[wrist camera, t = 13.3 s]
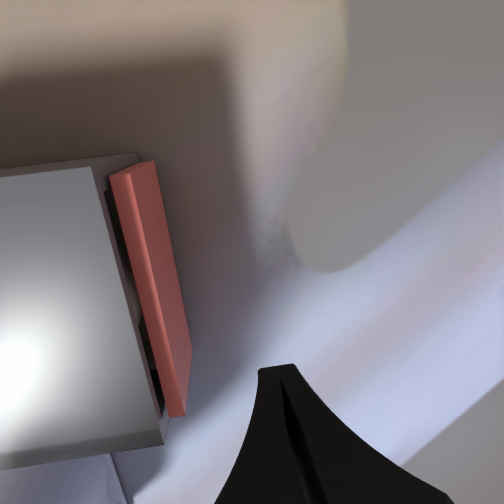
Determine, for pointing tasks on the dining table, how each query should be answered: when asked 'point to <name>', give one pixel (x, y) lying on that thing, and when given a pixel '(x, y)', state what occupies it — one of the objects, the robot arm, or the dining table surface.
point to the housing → (69, 321)
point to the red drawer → (153, 278)
